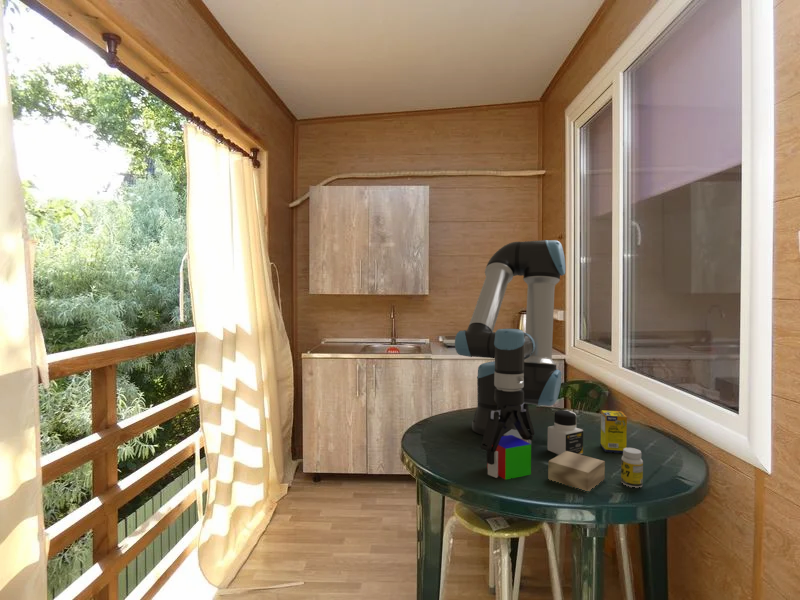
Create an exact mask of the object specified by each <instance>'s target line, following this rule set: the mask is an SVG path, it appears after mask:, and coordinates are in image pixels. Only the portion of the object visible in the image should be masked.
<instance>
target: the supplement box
mask: <svg viewBox="0 0 800 600" xmlns="http://www.w3.org/2000/svg"><path fill="white" fill-rule="evenodd" d="M627 424H628V416H627V415H625V413H624V412H623V411H621V410H620V411H618V410H601V411H600V447H601V448H602V450H603V451H604V452H605V453H612V452H614V453H615V454H623V449H624V448H628V447H627V443H628V441H627V439H628V437H627V435H628V434H627V431H628V425H627Z"/></svg>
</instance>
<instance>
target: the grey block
mask: <svg viewBox="0 0 800 600" xmlns="http://www.w3.org/2000/svg"><path fill="white" fill-rule="evenodd" d="M508 435H513V436H515V437H517V438H522V437H521V436H520V434H519V432H518V431H517V430H513V429H511V430H510V431H508V432H507V433H505V434H504V436H508ZM529 443H530V444H531V445H532V440H529Z"/></svg>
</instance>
